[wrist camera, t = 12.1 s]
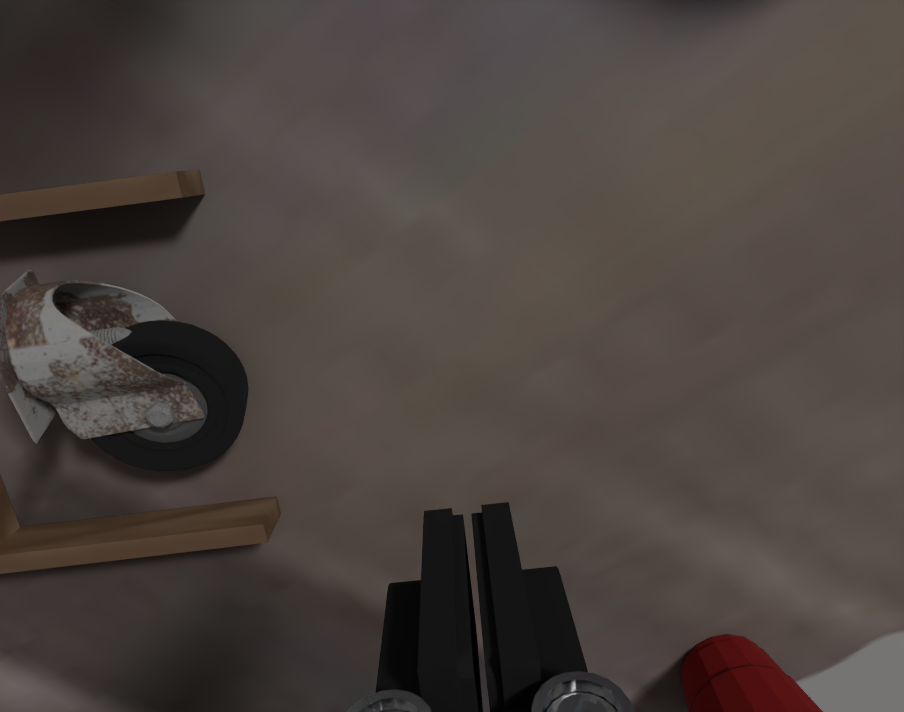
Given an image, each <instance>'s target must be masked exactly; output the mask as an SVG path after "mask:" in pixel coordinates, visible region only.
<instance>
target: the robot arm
mask: <svg viewBox="0 0 904 712" xmlns="http://www.w3.org/2000/svg"><path fill="white" fill-rule="evenodd" d="M481 506H482V513H473V514H472V525H473V536H474V548H475V559H476V570H477V581H478V592H479V603H480V615H481V626H482V637H483V648H484V659H485V669H486V678H487V687H488V696H489V705H490V712H636V711H635V709H634V708H633V706H632V704H631V702H630V700H629V699H628V698H627V696H626V695H625V694H624V692H623V691H622V690H621V688H619V687H618V686H617V685H615V684H614V683H613V682H611V681H610V680H609V679H607V678H604V677H602V676H599V675H597V674H594V673H588V670H587V667H586V663H585V660H584V656H583V653H582V649H581V646H580V642H579V639H578V635H577V632H576V628H575V625H574V621H573V618H572V614H571V611H570V607H569V604H568V600H567V597H566V593H565V590H564V586H563V583H562V579H561V576H560V573H559V570H558V568H557V566H555V567H545V568H535V569H526V570H522V568H521V563H520V558H519V553H518V547H517V542H516V537H515V532H514V527H513V522H512V517H511V512H510V507H509V503H508V502H507V503H497V504H487V505H481ZM348 712H483V707H482V694H481V681H480V669H479V656H478V643H477V632H476V623H475V614H474V606H473V597H472V589H471V580H470V571H469V563H468V554H467V545H466V537H465V528H464V520H463V515H452V509H451V508H449V509H439V510H429V511H424V523H423V547H422V571H421V580H418V581H408V582H398V583H390V584H389V586H388V592H387V600H386V609H385V617H384V626H383V634H382V643H381V652H380V660H379V669H378V677H377V686H376V693H374V694H372V695H369V696H366V697H365V698H363V699H362V700H360V701H359V702H357V703H356V704H354V705H353V706H352V708H351V709H350V710H349V711H348Z"/></svg>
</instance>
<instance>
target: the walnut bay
mask: <svg viewBox="0 0 904 712" xmlns="http://www.w3.org/2000/svg"><path fill="white" fill-rule="evenodd" d="M204 194H205V192H204V188H203V184H202V179H201V175H200V171H177V172H168V173H161V174H153V175H146V176H138V177H130V178H123V179H115V180H108V181H100V182H92V183H85V184H77V185H70V186H62V187H54V188H47V189H39V190H31V191H24V192H16V193H9V194H1V195H0V221H7V220H14V219H22V218H30V217H37V216H45V215H53V214H60V213H68V212H76V211H83V210H91V209H99V208H106V207H114V206H122V205H129V204H137V203H145V202H152V201H160V200H168V199H175V198H183V197H190V196H197V195H204ZM280 514H281V513H280V509H279V505H278V500H277V497H271V498H262V499H254V500H245V501H237V502H229V503H220V504H212V505H203V506H195V507H187V508H178V509H170V510H162V511H153V512H145V513H136V514H128V515H120V516H111V517H103V518H94V519H86V520H78V521H69V522H61V523H52V524H44V525H36V526H27V527H20V526H19V523H18V521H17V518H16V515H15V513H14V510H13V508H12V505H11V502H10V500H9V497H8V495H7V492H6V489H5V487H4V484H3V481H2V479H1V476H0V574H4V573H12V572H21V571H29V570H38V569H47V568H55V567H64V566H72V565H81V564H89V563H98V562H106V561H115V560H123V559H132V558H140V557H149V556H157V555H166V554H174V553H183V552H191V551H200V550H208V549H217V548H225V547H234V546H242V545H251V544H259V543H268V541H269V539H270V536H271V534H272V532H273V530H274V528H275V525H276V523H277V521H278V519H279V517H280Z"/></svg>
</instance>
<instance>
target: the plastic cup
mask: <svg viewBox="0 0 904 712" xmlns="http://www.w3.org/2000/svg"><path fill="white" fill-rule="evenodd" d="M681 672H682V684H683V691H684V695H685V699H686V703H687V706H688V710H689V712H823V711H822V710H821V709H820V708H819V707H818V706H817V705H816V704H815V703H814V702H813V701H812V700H811V698H810V697H808V695H807V694H806V693H805V692H804V691H803V690H802V689H801V688H800V687H799V685H798V684H797V683H796V682H795V681H794V680H793V679H792V678H791V677H790V676H788V675H786V674H785V673H784V672H783V671H782V669H781V668H780V667H779V666H778V665H777V664H776V663H775V662H774V661H773V660H772V659H771V658H770V656H769V655H768V654H767V653H766V652H765V651H764V650H763V649H761V648H760V647H758V646H757V645H756V644H755V643H753V642H752V641H750V640H748V639H746V638H745V637H742V636H735V635H728V634H727V635H722V636H716V637H711V638H709V639H707V640H705V641H703V642H702V643H700V644H698V645H696V646H695V647H694V648H693V649H692V651H691V652H690V653H689V654H688V655H687V656H686V658H685V660H684V663H683V666H682V669H681Z"/></svg>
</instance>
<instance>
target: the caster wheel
mask: <svg viewBox="0 0 904 712" xmlns="http://www.w3.org/2000/svg"><path fill="white" fill-rule="evenodd" d="M0 380H1V382H2V384H3V385H4V387H5V389H6V391H7V393H8V395H9V397H10V399H11V401H12V402H13V404H14V406H15V408H16V410H17V412H18V414H19V416H20V418H21V419H22V421H23V423H24V425H25V427H26V429H27V431H28V433H29V435H30V436H31V438H32V440H33V441H34V442H35V443H36V444H37V443H38V441H39V440H40V438H41V436H42V435H43V433H44V432H45V430H46V429H47V427H48V426H49V424H50V423H51V421H52V419H53V418H54V416H55V415H56V413H57V412H58V414H59V416H60V417H61V419H62V421H63V423H64V424H65V425H66V426H67V428H68V429H69V430H70V431H72V432H73V433H74V434H76V435H77V436H78V437H79V438H81V439H88V438H91V439H92V440H93V441H94V442H95V443H96V444H97V445H98V446H99V447H100V448H101V449H103V450H104V451H105V452H106V453H108V454H110V455H111V456H113V457H114V458H116V459H118V460H120V461H122V462H125V463H127V464H129V465H132V466H136V467H139V468H143V469H149V470H156V471H176V470H185V469H189V468H193V467H196V466H199V465H203V464H205V463H207V462H209V461H211V460H213V459H215V458H216V457H218V456H219V455H221V454H222V453H224V452H225V451H226V450H227V449H228V448H229V447H230V446H231V445H232V444H233V442H234V441H235V439H236V438H237V436H238V434H239V432H240V430H241V427H242V424H243V420H244V416H245V411H246V405H247V397H248V382H247V376H246V373H245V370H244V367H243V365H242V363H241V362H240V360H239V358H238V357H237V355H236V354H235V353H234V352H233V351H232V350H231V349H230V348H229V347H228V345H227V344H226V343H224V342H223V341H222V340H221V339H219V338H218V337H217V336H215V335H213V334H211V333H210V332H208V331H206V330H203V329H201V328H198V327H196V326H194V325H190V324H186V323H182V322H177V320H176V319H175V318H174V317H173V316H172V315H171V314H170V313H169V312H168V311H167V310H165V309H164V308H163V307H162V306H161V305H160V304H158V303H157V302H155V301H153V300H152V299H150V298H148V297H146V296H144V295H142V294H139V293H137V292H134V291H131V290H128V289H125V288H121V287H118V286H114V285H109V284H104V283H97V282H89V281H62V282H55V283H48V284H41V285H39V283H38V280H37V278H36V276H35V274H34V272H33V270H30V269H28V270H27V271H26V272H25V273H24V274H23V275H22V276H21V277H20V278H18V279H17V280H16V281H15V282H14V283H13V284H12V285H11V286H9V287H8V288H7V289H6V290H5V291H4V292H3V293H2V294H1V295H0Z"/></svg>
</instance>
